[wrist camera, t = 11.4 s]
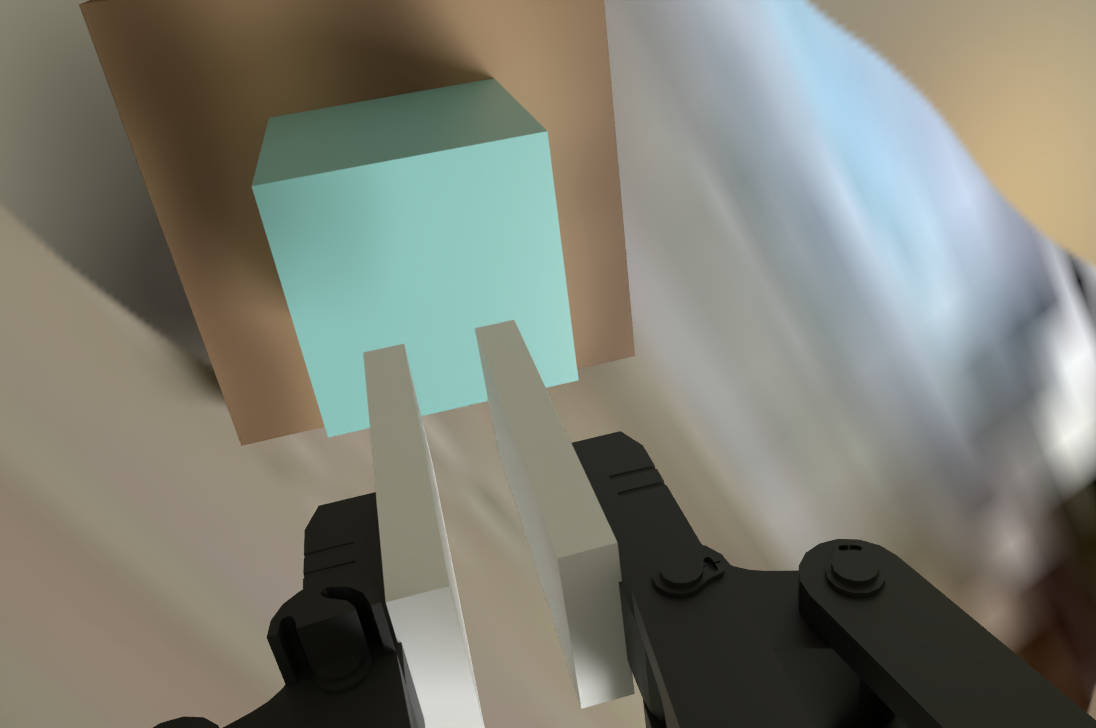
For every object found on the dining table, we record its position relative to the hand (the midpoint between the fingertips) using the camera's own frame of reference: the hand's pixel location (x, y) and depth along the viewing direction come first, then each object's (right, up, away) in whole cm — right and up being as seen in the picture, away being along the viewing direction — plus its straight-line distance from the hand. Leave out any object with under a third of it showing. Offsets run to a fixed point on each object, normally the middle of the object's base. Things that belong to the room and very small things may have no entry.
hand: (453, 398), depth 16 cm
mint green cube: (-3, +6, +10) cm, 12 cm away
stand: (-3, +7, +12) cm, 14 cm away
